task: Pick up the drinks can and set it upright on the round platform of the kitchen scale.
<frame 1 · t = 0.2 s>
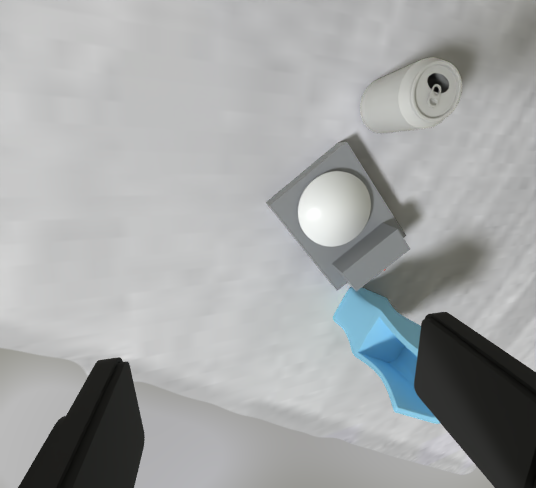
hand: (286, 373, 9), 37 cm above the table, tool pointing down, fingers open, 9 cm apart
can: (380, 107, 44), on the table
scale: (334, 217, 48), on the table
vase: (358, 308, 54), on the table
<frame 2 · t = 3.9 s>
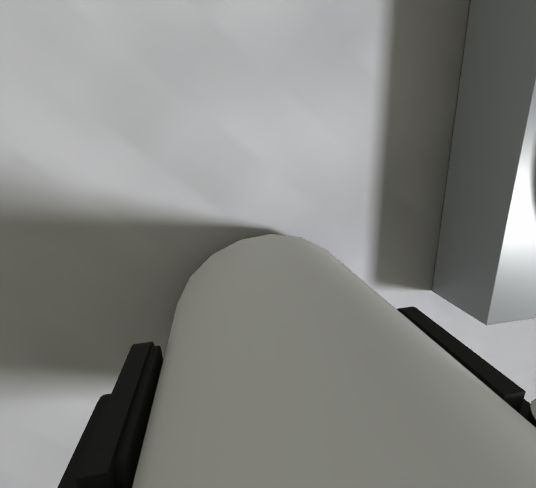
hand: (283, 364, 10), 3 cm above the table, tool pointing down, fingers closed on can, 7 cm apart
can: (265, 309, 13), on the table, touching gripper
when the fingers open (8 cm above the table, at t = 9.7 s): can stays where it is, resting on scale.
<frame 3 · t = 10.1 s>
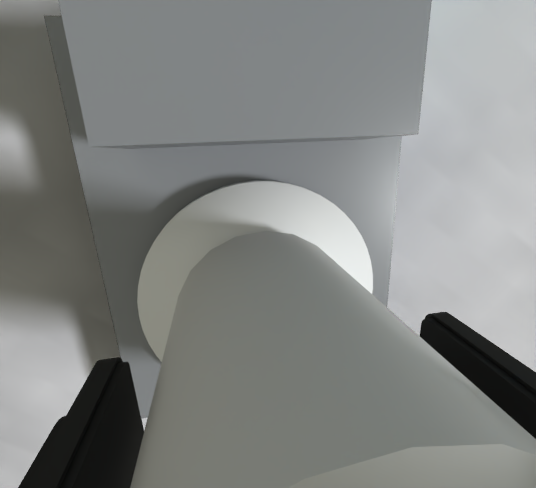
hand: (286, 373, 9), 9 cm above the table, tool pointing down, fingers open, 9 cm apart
can: (261, 302, 14), point 4 cm above the table, touching scale
scale: (249, 229, 17), on the table
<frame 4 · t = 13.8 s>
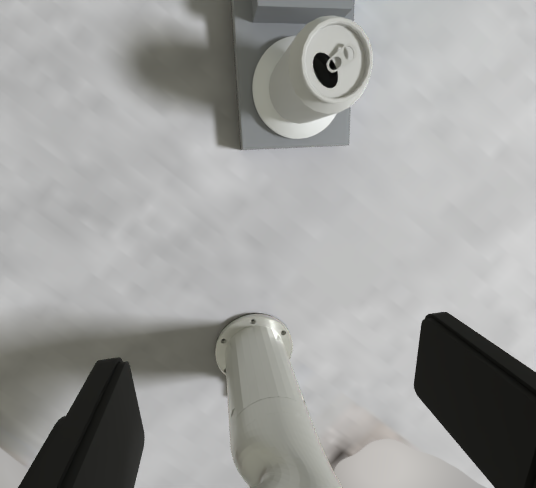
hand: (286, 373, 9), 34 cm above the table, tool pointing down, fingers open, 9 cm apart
can: (298, 90, 36), point 4 cm above the table, touching scale
scale: (290, 74, 38), on the table
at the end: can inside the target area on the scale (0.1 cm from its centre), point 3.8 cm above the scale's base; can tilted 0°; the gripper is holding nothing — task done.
